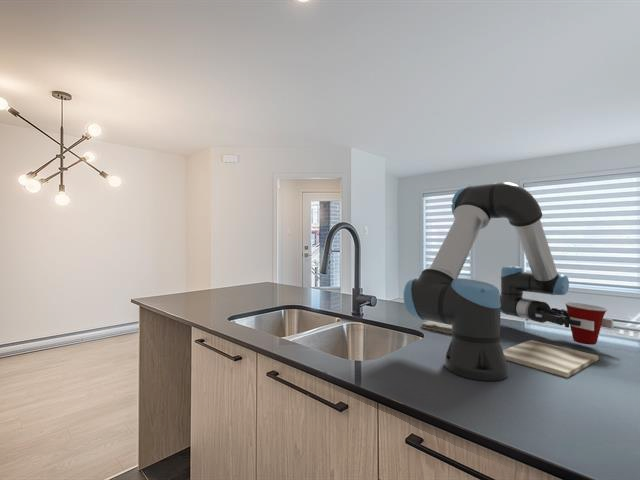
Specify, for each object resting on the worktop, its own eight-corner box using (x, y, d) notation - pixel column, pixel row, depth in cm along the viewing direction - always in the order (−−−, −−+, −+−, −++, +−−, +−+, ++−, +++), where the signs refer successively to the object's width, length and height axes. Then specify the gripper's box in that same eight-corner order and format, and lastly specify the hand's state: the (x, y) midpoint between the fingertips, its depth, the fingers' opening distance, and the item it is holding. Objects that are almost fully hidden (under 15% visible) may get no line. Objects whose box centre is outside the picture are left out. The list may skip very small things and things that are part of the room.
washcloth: (434, 323, 139) (434, 316, 139) (478, 332, 126) (478, 324, 126) (419, 329, 131) (419, 321, 131) (465, 339, 118) (465, 330, 118)
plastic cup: (616, 348, 100) (616, 308, 100) (575, 346, 102) (575, 307, 102) (595, 338, 111) (595, 302, 111) (558, 336, 113) (558, 300, 113)
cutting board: (567, 377, 83) (567, 372, 83) (495, 356, 98) (495, 352, 98) (598, 359, 96) (598, 355, 96) (530, 343, 111) (530, 340, 111)
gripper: (554, 318, 127) (625, 334, 105) (512, 322, 120) (579, 340, 99) (554, 299, 127) (625, 310, 105) (512, 301, 120) (579, 315, 99)
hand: (602, 325), depth 102 cm, fingers closed on plastic cup, 8 cm apart
